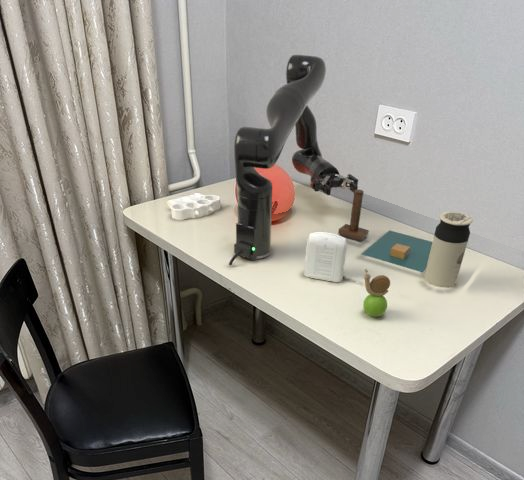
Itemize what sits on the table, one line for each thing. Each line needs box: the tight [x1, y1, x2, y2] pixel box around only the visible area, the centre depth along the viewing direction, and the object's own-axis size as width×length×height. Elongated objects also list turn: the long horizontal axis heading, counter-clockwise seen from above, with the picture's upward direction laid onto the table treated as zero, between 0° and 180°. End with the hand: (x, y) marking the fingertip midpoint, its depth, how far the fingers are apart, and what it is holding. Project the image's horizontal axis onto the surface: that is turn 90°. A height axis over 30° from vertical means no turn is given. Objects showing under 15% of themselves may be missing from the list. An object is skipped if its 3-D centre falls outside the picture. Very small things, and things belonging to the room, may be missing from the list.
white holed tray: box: [166, 192, 222, 221], centre depth 164 cm, size 3×18×15 cm
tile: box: [361, 229, 433, 273], centre depth 142 cm, size 20×18×1 cm
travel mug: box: [423, 211, 473, 288], centre depth 123 cm, size 8×8×18 cm
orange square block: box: [390, 244, 410, 259], centre depth 138 cm, size 4×4×2 cm
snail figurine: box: [362, 268, 391, 317], centre depth 113 cm, size 5×6×12 cm
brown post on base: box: [337, 189, 370, 243], centre depth 144 cm, size 5×8×15 cm, turn 55°
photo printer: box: [303, 231, 348, 283], centre depth 127 cm, size 10×4×12 cm, turn 73°
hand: (342, 190), depth 150 cm, fingers open, 8 cm apart
